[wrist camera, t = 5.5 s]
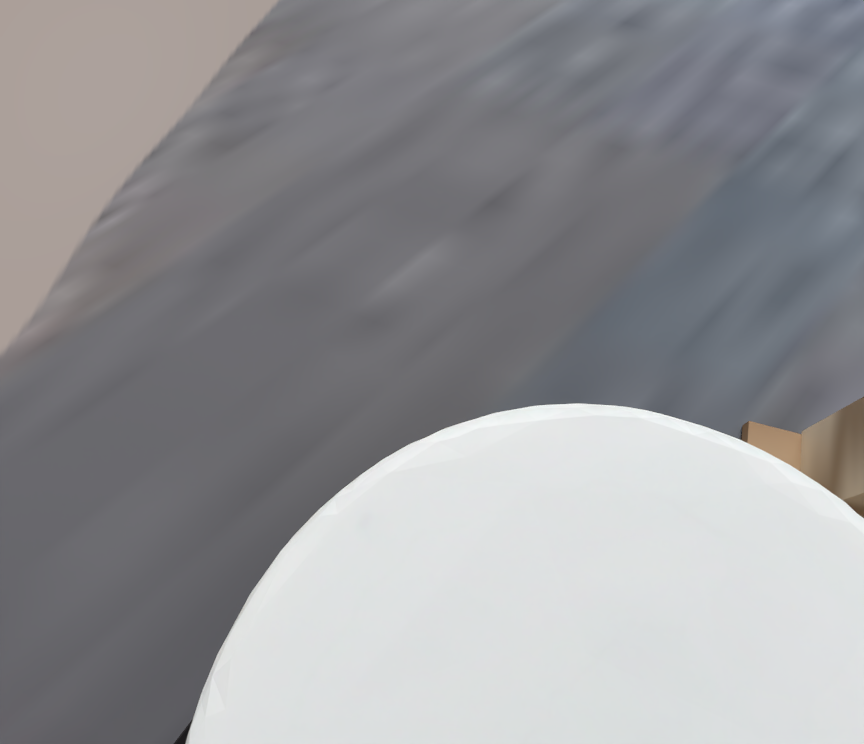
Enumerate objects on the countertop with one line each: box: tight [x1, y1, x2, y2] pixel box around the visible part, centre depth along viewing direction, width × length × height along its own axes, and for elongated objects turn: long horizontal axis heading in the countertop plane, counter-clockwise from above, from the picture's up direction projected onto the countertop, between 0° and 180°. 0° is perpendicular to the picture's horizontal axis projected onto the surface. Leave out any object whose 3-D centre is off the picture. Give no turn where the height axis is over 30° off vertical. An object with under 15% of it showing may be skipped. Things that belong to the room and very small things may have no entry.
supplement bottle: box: [185, 404, 864, 744], centre depth 9 cm, size 7×7×13 cm
